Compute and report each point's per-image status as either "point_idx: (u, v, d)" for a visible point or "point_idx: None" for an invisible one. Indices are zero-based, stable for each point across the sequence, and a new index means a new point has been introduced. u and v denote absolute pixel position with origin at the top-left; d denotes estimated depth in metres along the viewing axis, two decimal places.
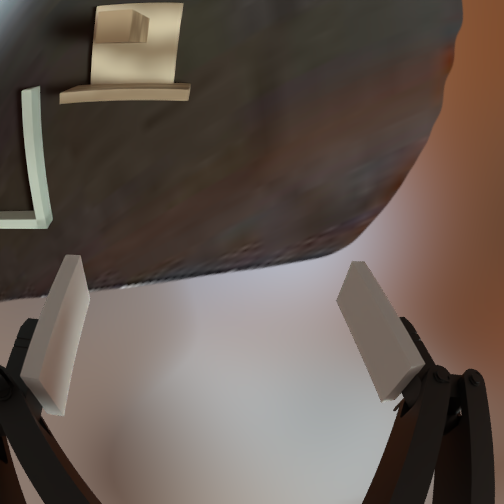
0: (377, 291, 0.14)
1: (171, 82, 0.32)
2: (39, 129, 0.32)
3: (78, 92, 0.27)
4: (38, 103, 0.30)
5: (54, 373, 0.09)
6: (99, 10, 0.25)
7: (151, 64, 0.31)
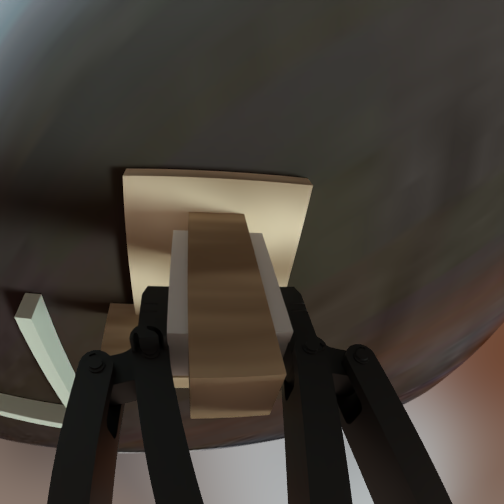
0: (263, 259, 0.15)
1: None
2: (59, 348, 0.23)
3: None
4: (47, 320, 0.21)
5: None
6: (130, 186, 0.16)
7: None
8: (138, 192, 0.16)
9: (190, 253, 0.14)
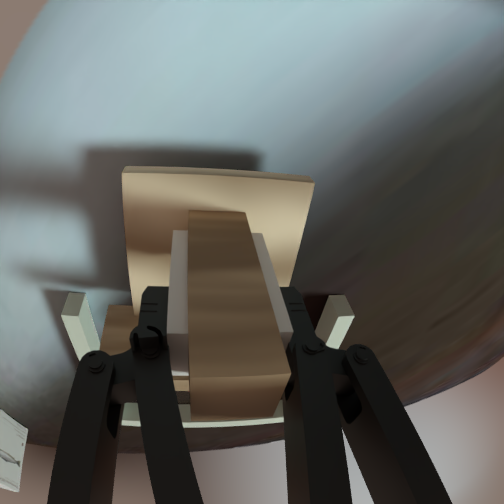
0: (263, 259, 0.15)
1: None
2: None
3: None
4: None
5: None
6: (129, 183, 0.15)
7: None
8: (137, 189, 0.16)
9: (190, 250, 0.14)
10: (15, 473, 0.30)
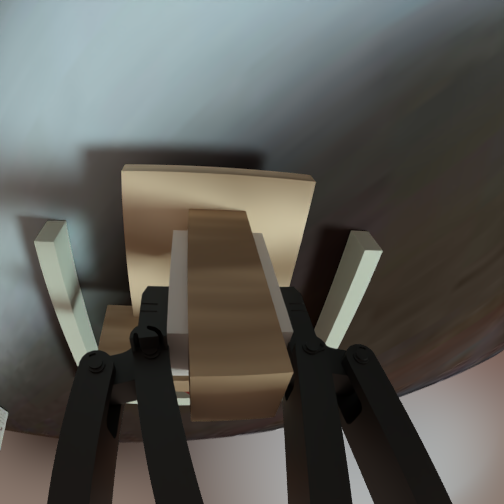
0: (263, 259, 0.15)
1: None
2: None
3: None
4: None
5: None
6: (128, 181, 0.15)
7: None
8: (137, 188, 0.15)
9: (190, 249, 0.14)
10: None
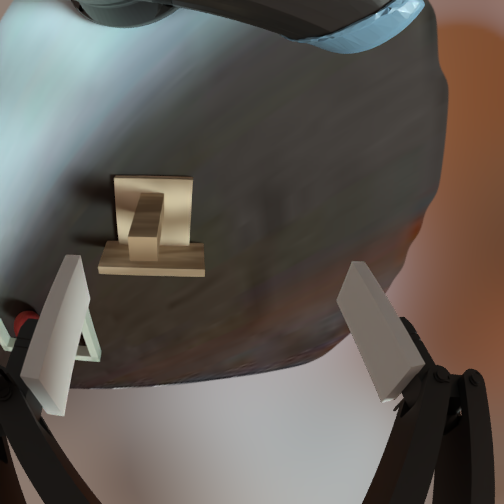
0: (377, 291, 0.14)
1: (187, 245, 0.45)
2: None
3: (114, 267, 0.39)
4: None
5: (54, 373, 0.09)
6: (117, 182, 0.37)
7: (169, 231, 0.43)
8: (120, 185, 0.38)
9: (137, 206, 0.36)
10: None
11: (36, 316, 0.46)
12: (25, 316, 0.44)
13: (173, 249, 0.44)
